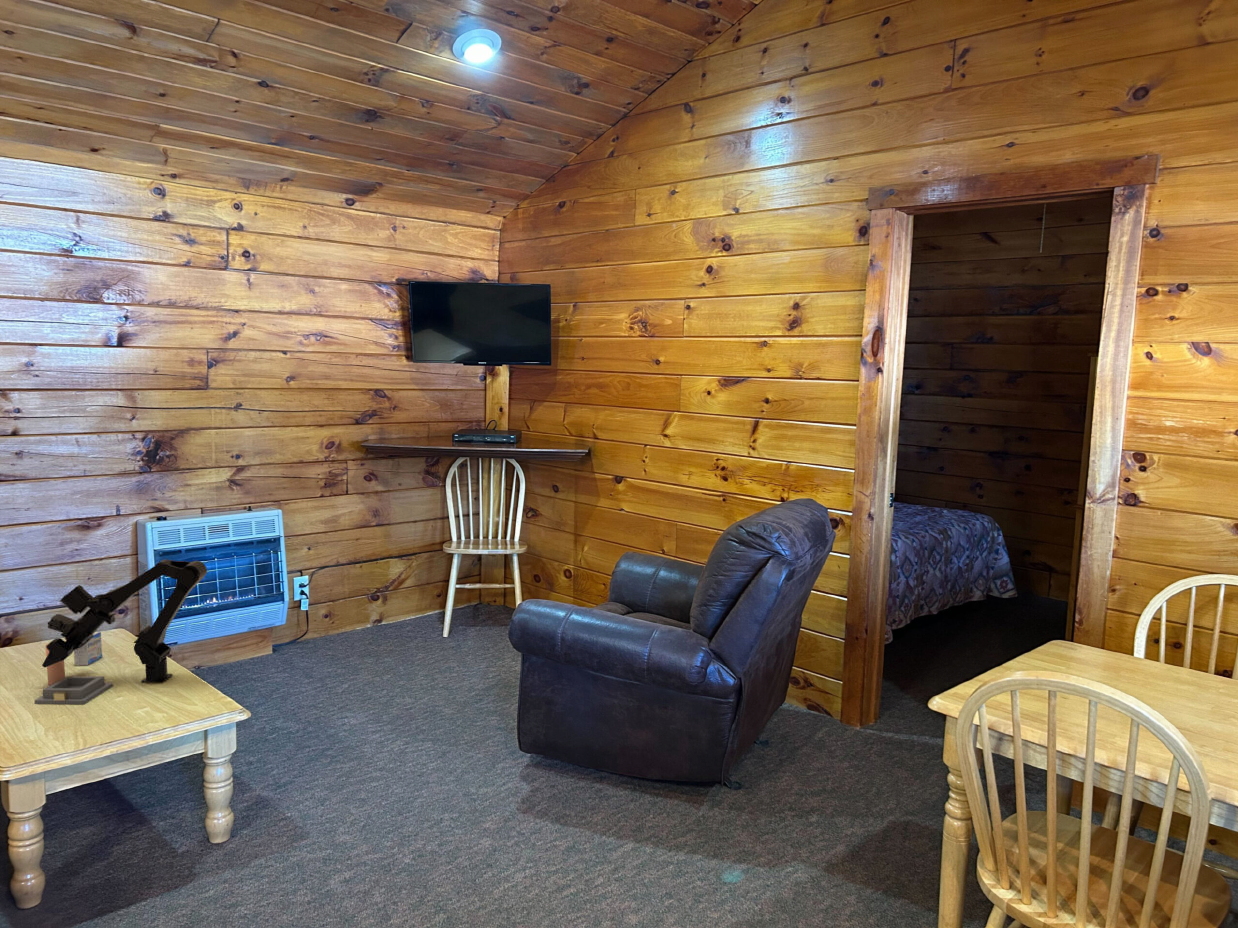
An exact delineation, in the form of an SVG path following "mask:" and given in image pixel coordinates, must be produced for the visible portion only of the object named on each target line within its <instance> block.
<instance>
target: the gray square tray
mask: <svg viewBox="0 0 1238 928" xmlns="http://www.w3.org/2000/svg"><path fill="white" fill-rule="evenodd" d="M112 687H114V683H113V682H106V681H105V676H102V675H101V676H97V675H94V676H91V675H88V676H87V675H86V676H85V675H82V676H79V675H78V676H77V675H65V677H64V678H63V679H61V680H59V681H57V682H56V683H54V684H52V685H48V686H47V687H45V688H43V689H42V696H39V697H37V698H35V699H34V701H33V702H34V704H35V705H86V704H87V703H89V702H90V701H92V700H93V699H95V698H96V697H98V696H100V695H101V694H102V693H104V692H106V691H108V690H109V689H111V688H112Z"/></svg>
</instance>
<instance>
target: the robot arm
mask: <svg viewBox="0 0 1238 928" xmlns="http://www.w3.org/2000/svg"><path fill="white" fill-rule="evenodd" d="M207 573H208V569H207V566H206V565H205V564H204V562H202V561H200V560H194V561H186V560H171V559H162V560H160V561H159V562H157V563H156V564H155V565H154V566H152V567H151V568H149V569H148V570H147V571H145V572H143V573H142V574H140V575H138V576H137V577H135V578H134V579H133V580H130V581H129V582H128V583H126V584H123V585H121V586H118V587H116V588H114V589H111V590H109V591H107V592H106V593H103V594H102V593H101V594H96V595H95V596H93V595H91V594H90V593H89V592H88V591H87V590H85V588H84V587H83V586H82V585H81V584H78V585H77V586H74V588H73V589H72V590H70V591H69V592H68V593H66V594H65V595H63V597H62V598H61V599H59V602H60V603H61V604H63V605H64V607H66V608H67V609H68V610H70V612H72V613H73V614H74V615H77V614H81V615H82V614H83V613H84V614H83V615H82V616H80V617H79V618H78V619H77V620H75V619H73V618H72V617H68V616H66V615H62V614H59V613H58V614H55V615H53V616H52V617H51V618H50V620H49V621H47V628H48V629H49V630H53V631H57V632H59V633H61V634H60V636H61V637H63V638H64V639H62V638H61V637H60V638H57V637H56V638H54V639H52V640H51V641H50V642H49V644H48V643H47V644H48V645H47V646H45V649H46V648H47V649H48V650H49V654H48V656H47V658H46V657H45V659H44V661H43V663H42V664H41V666H42V667H43V668H47V667H48V666H50V665H52V664H55V663H57V662H60V661H63V660H64V661H65V660H66V659H67V658H69V657H70V656H71V655H72V654H74V650H76V649H78V648H80V647H82V646H83V645H85V644H86V643H88V642H89V641H90V640H91V639H92V638H93V634H94V633H95V632H98V629H100V627H101V626H102V625H103V624H104V623H106V624H108V625H112V624H113V623H114V622H116V618H115V617H116V616H115V615H116V614H115V611H117V610H118V609H120V608H121V607H124V605H125V604H126V603H127V602H128V601H129V600H130V599H132V597H133V596H134V595H135V594H136V593H137V592H139V591H141V590H142V589H144V588H145V587H147V586H148V585H150V584H152V583H153V582H155V581H156V580H158V579H159V578H161V577H163V576H166V577H168V578H171V579H173V580H176V581H175V588H174V589H173V591H172V593H171V594H170V596H169V597H168V599H167V601H166V603H165V604H164V606H163V607H162V609H161V611H160V612H159V614H158V616H157V617H156V619H155V621H154V622H153V624H152V625H147V627H145V628H143V629H142V630H141V631H140V632H139V633H138V636H137V638H136V640H135V641H134V642H133V643H134V645H133V650H134V653H135V656H136V655H137V657H138V658H139V660H140V663H141V664H142V665H144V667H145V678H143V679H141V681H140V682H141V683H149V684H150V683H154V684H155V683H156V684H158V683H161V684H162V683H164V682H165V681H167V680H169V678H171V677H173V673H168V658H167V656H169V655H170V654H171V652H172V651H171V650H172V648H171V647H170V646H169V645H168V644H167V643H165V639H166V635H167V630H168V629H169V627H170V625H171V623H172V622H173V620H174V618H175V617H176V615H177V614H178V612H179V610H180V609H181V607H182V605H183V603H184V602H185V600H186V598H188V596H189V594H190V592H191V591H193V589H194V588H195V587H196V586H197V585H199V583H200V582H201V581H202V580H203V579H204V577H205V576H206V575H207ZM113 612H114V613H113Z"/></svg>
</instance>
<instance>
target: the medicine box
mask: <svg viewBox="0 0 1238 928" xmlns="http://www.w3.org/2000/svg"><path fill="white" fill-rule="evenodd" d="M102 645H103V644H102V634H101V631H96V632H95V633H94V634H93V638H92V639H91V640H90V641H89V642H88V643H86V644H85V645H83V646H82V647H80V648H78V649H76V650H74V651H73V657H74V658H73V661H74V666H90V665H91V664H93V663H95V662H96V661H98V660H99V659H102V658H103V646H102Z"/></svg>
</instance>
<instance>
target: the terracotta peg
mask: <svg viewBox="0 0 1238 928" xmlns="http://www.w3.org/2000/svg"><path fill="white" fill-rule="evenodd" d="M49 643H50V642H49ZM49 643H46V644H45V656H46V657H45V659H46V658H47V656H48V654H49V650H48V649H47V648H46V646H47V645H48V644H49ZM65 667H66V666H65V660H63V661H60V662H57V663H55V664H52V665H50V666H48V667H46V672H47V673H46V674H47V685H48V686H50V685H52V684H54V683H56V682H57V681H59V680H61V679H63V678H64V677H66V669H65Z"/></svg>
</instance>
